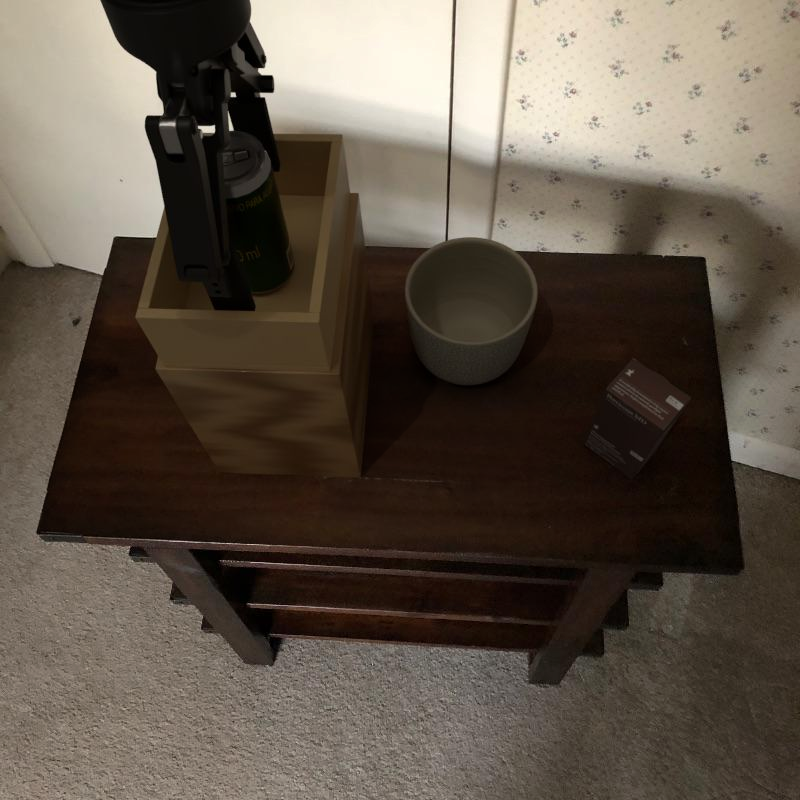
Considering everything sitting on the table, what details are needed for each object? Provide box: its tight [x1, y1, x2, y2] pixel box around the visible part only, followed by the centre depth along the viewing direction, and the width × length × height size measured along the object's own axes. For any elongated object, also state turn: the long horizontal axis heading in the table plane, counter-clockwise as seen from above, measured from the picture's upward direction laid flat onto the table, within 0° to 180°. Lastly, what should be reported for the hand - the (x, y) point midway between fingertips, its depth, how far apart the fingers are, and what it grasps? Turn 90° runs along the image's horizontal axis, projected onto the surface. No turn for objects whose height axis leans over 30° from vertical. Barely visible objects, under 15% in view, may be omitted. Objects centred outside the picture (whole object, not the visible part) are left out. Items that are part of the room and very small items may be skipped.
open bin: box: [135, 132, 351, 372], centre depth 59 cm, size 13×18×7 cm
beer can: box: [223, 130, 294, 295], centre depth 56 cm, size 5×5×12 cm
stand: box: [154, 192, 375, 479], centre depth 70 cm, size 14×18×20 cm
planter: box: [404, 236, 539, 386], centre depth 76 cm, size 12×12×11 cm
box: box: [582, 357, 692, 481], centre depth 70 cm, size 6×4×12 cm
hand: (250, 235), depth 57 cm, fingers open, 13 cm apart
